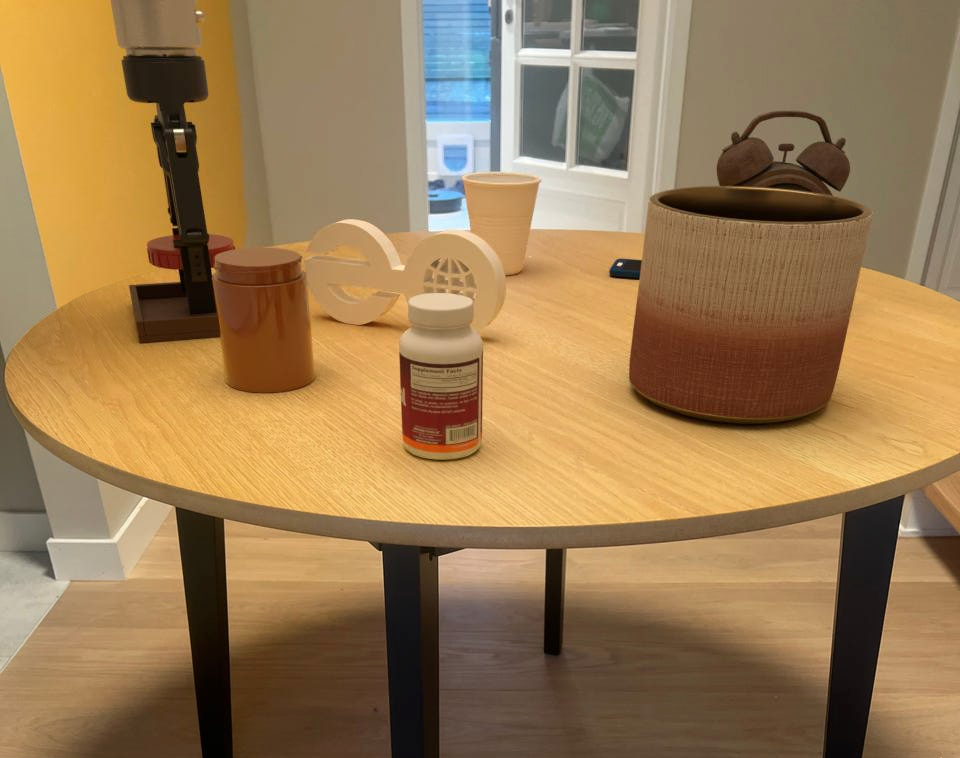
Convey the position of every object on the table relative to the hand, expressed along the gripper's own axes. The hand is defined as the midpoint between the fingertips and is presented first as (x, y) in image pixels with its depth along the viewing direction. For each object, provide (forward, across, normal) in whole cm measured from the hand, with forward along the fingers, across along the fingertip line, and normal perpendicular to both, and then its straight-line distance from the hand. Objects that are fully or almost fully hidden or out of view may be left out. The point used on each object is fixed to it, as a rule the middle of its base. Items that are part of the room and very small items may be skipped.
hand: (198, 301), depth 101 cm
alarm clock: (+2, -14, -61) cm, 63 cm away
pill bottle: (+2, -42, -14) cm, 44 cm away
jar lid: (-6, 0, 0) cm, 6 cm away
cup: (+2, +12, -39) cm, 41 cm away
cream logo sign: (+2, -10, -20) cm, 22 cm away
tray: (+2, 0, 0) cm, 2 cm away
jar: (+2, -22, -4) cm, 22 cm away
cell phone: (+2, +4, -59) cm, 59 cm away
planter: (+2, -38, -42) cm, 57 cm away
